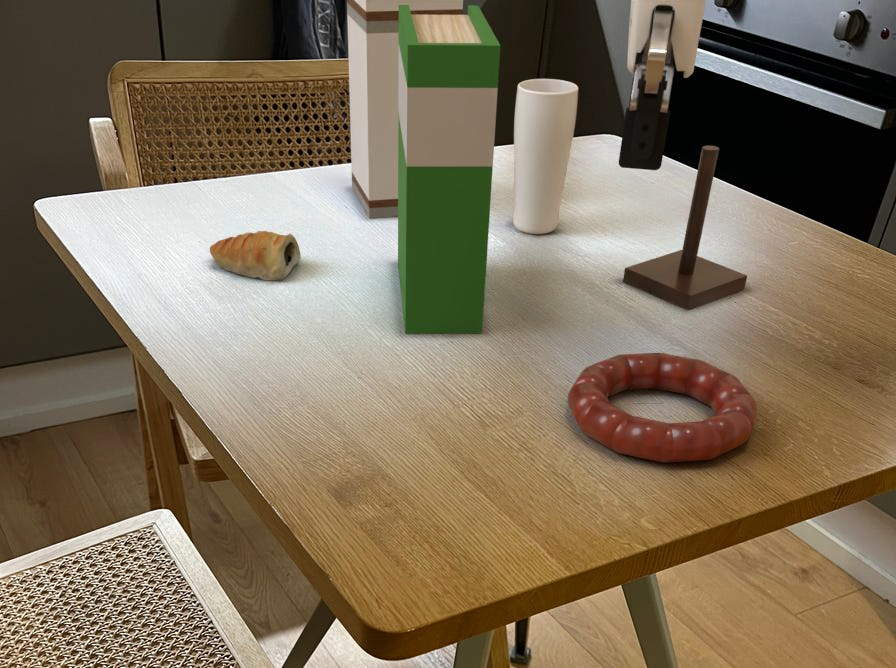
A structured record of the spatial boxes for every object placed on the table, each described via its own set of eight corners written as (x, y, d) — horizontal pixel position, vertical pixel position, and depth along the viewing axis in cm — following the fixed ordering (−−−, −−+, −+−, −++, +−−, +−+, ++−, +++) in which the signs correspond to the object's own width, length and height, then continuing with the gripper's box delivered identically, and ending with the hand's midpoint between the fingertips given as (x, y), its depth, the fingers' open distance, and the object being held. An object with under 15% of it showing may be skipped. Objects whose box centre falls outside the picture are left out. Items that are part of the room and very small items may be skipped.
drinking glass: (554, 216, 118) (569, 77, 108) (570, 236, 113) (587, 92, 103) (500, 219, 117) (510, 79, 107) (514, 239, 112) (525, 94, 102)
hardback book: (397, 263, 106) (398, 4, 90) (465, 263, 106) (477, 5, 90) (405, 333, 93) (407, 45, 77) (482, 333, 93) (500, 45, 77)
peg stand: (744, 289, 102) (778, 151, 93) (687, 310, 98) (717, 167, 89) (678, 263, 107) (704, 129, 98) (622, 281, 103) (644, 144, 94)
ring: (788, 430, 80) (798, 397, 78) (666, 490, 73) (673, 455, 71) (651, 363, 89) (657, 332, 87) (531, 411, 82) (534, 378, 80)
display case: (454, 212, 118) (469, -157, 95) (369, 218, 116) (363, -158, 93) (432, 183, 127) (440, -164, 103) (352, 188, 125) (342, -164, 101)
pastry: (201, 273, 103) (196, 236, 101) (227, 251, 108) (223, 216, 105) (283, 283, 101) (280, 246, 99) (306, 261, 106) (304, 225, 104)
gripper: (745, -109, 59) (688, 187, 70) (737, -129, 72) (690, 125, 83) (621, -113, 60) (585, 178, 72) (635, -133, 73) (602, 118, 84)
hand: (641, 149), depth 77 cm, fingers open, 9 cm apart
